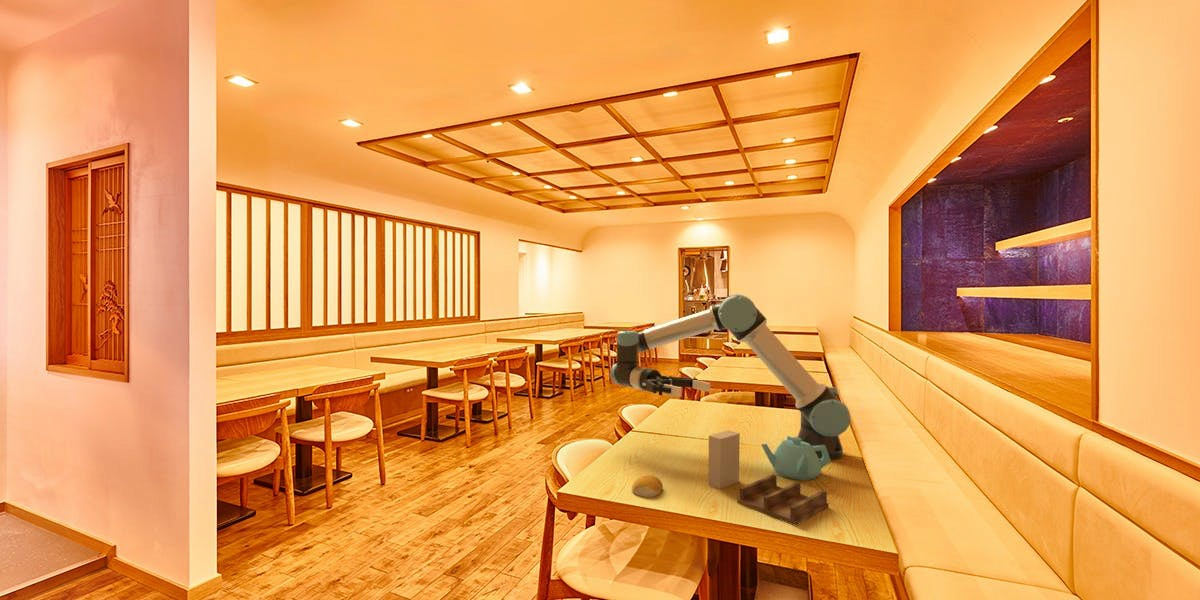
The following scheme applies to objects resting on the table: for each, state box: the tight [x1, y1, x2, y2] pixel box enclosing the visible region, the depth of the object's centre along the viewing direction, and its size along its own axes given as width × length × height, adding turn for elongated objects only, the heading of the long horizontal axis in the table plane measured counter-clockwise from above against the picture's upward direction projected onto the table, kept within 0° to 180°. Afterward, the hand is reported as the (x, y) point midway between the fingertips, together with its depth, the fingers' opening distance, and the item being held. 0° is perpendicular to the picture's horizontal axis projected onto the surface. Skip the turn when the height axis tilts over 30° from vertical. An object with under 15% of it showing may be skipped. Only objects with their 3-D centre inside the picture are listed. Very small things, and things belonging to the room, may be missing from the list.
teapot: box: [761, 435, 832, 481], centre depth 146 cm, size 15×15×11 cm
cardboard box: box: [707, 430, 740, 490], centre depth 138 cm, size 9×4×14 cm, turn 129°
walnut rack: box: [737, 473, 829, 526], centre depth 124 cm, size 16×16×4 cm
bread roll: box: [631, 474, 664, 498], centre depth 132 cm, size 8×9×4 cm
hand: (695, 389), depth 146 cm, fingers open, 13 cm apart
